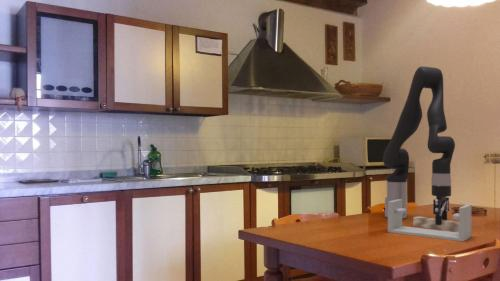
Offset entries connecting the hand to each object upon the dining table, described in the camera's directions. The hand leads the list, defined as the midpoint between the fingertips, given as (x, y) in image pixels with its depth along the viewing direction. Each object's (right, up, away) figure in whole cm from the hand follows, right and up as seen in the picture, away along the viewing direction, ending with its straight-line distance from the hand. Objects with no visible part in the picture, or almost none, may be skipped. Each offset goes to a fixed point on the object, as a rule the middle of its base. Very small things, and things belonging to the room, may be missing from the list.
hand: (441, 223), depth 195 cm
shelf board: (0, -3, 0) cm, 3 cm away
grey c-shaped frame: (-10, -2, -12) cm, 16 cm away
